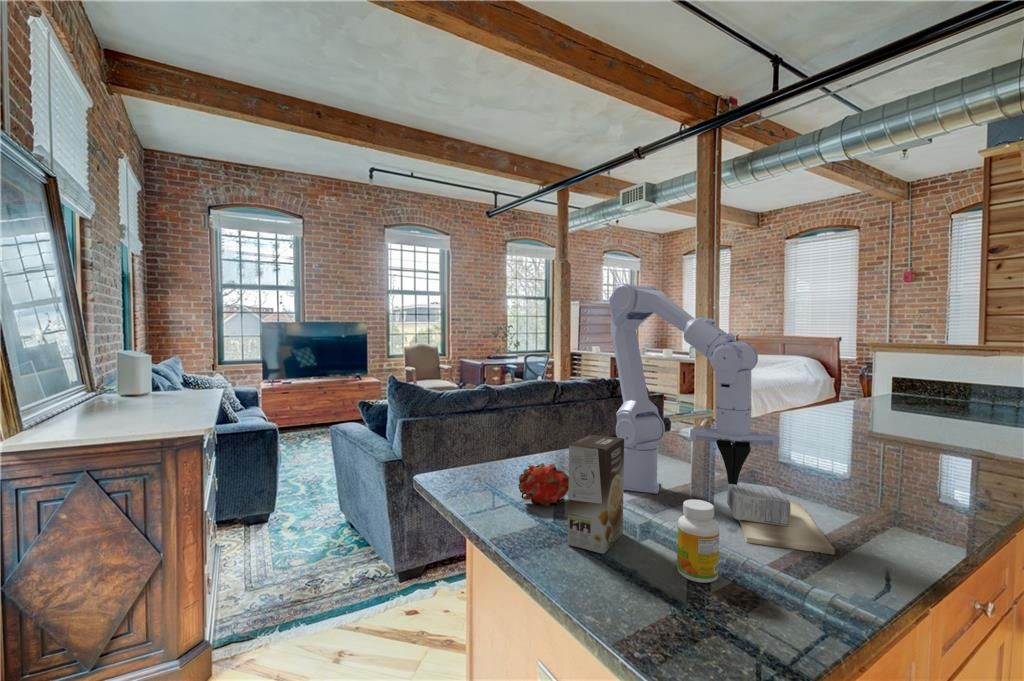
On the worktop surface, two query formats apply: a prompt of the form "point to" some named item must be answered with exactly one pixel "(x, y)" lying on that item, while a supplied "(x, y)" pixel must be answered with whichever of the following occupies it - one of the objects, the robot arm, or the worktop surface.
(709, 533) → the supplement bottle
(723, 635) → the worktop surface
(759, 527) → the board
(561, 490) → the dragon fruit
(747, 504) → the medicine box
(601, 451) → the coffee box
